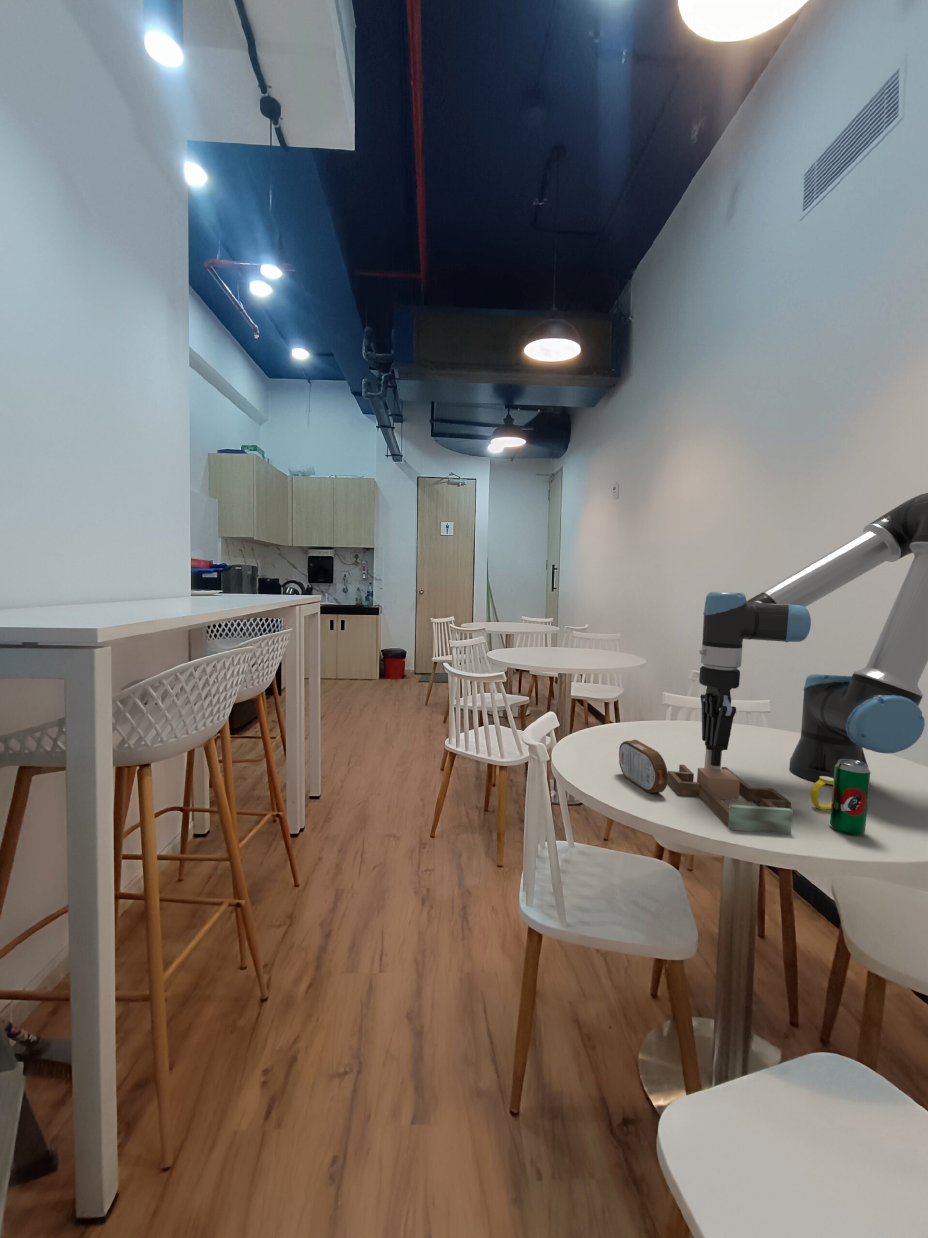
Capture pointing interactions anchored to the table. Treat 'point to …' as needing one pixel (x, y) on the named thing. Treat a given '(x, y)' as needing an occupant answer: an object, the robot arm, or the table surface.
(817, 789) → the watch
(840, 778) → the soda can
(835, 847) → the table surface
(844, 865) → the table surface
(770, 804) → the box
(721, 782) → the block
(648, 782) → the tin
